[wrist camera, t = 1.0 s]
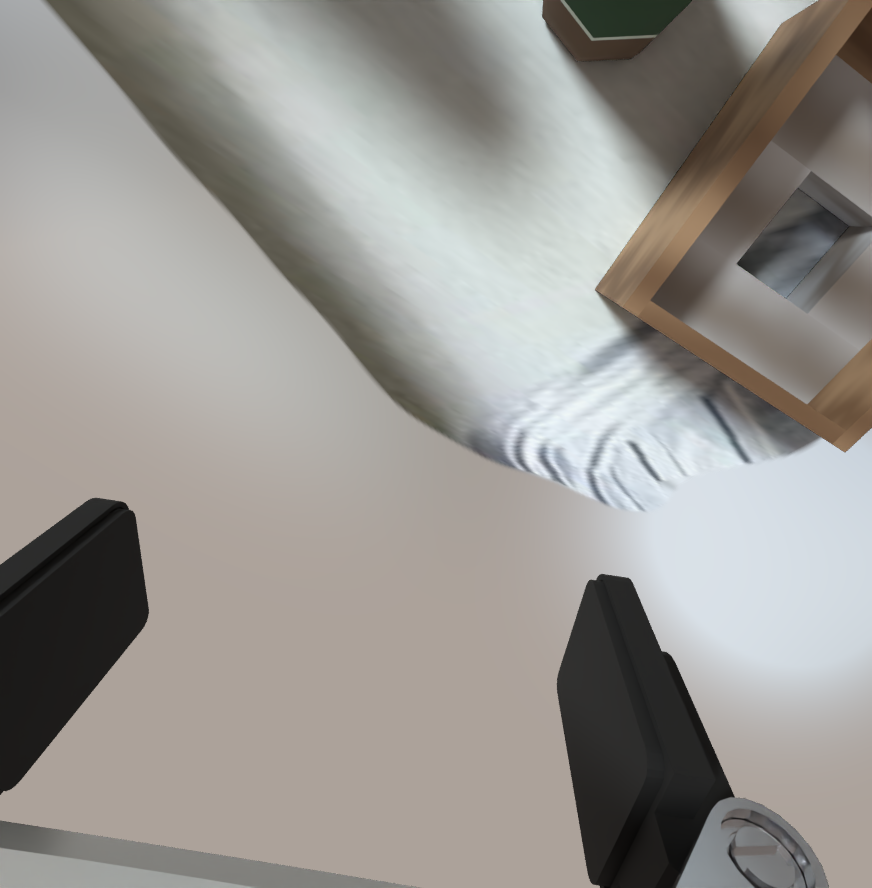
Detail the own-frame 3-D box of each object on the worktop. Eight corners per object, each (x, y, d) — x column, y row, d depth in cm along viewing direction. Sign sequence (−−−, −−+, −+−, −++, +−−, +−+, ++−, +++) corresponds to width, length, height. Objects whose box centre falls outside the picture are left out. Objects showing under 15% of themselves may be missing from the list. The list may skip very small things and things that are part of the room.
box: (781, 23, 27) (874, -35, 21) (989, 191, 30) (1130, 184, 23) (594, 289, 33) (622, 306, 27) (779, 410, 36) (845, 452, 29)
